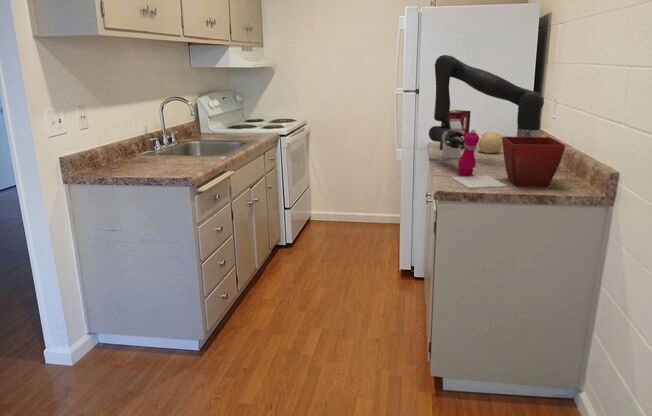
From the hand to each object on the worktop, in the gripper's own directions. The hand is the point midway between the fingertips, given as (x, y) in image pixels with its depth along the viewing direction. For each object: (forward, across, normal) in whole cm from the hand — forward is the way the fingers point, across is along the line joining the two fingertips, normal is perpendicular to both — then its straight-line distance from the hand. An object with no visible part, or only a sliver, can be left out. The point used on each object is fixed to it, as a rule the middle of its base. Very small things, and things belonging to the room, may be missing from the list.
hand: (467, 144), depth 210 cm
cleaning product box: (-64, +20, +13) cm, 69 cm away
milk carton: (-40, +8, +13) cm, 43 cm away
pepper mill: (-1, 0, +12) cm, 12 cm away
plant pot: (+16, +19, +13) cm, 29 cm away
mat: (+13, 0, +13) cm, 18 cm away
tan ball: (-49, +33, +13) cm, 61 cm away
